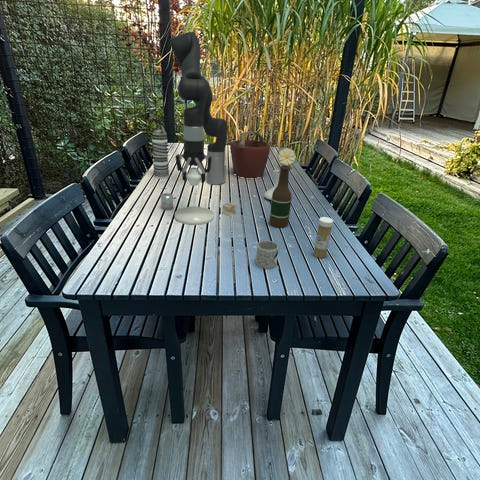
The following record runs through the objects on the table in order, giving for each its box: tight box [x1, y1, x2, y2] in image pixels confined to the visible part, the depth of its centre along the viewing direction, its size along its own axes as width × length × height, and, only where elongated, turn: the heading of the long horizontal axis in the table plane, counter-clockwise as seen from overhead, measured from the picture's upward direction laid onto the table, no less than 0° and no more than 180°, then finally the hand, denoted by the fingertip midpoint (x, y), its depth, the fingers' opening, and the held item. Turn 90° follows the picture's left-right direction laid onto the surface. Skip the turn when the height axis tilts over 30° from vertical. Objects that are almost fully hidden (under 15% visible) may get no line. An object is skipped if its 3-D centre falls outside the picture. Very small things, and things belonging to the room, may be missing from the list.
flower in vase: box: [263, 147, 297, 201], centre depth 159 cm, size 13×11×25 cm
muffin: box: [186, 166, 202, 187], centre depth 132 cm, size 6×6×7 cm
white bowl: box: [174, 206, 215, 226], centre depth 139 cm, size 16×16×2 cm
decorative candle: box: [150, 129, 170, 180], centre depth 183 cm, size 9×9×25 cm
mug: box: [255, 239, 280, 270], centre depth 108 cm, size 10×7×7 cm
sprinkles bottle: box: [312, 216, 334, 259], centre depth 112 cm, size 5×5×13 cm
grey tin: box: [160, 192, 174, 211], centre depth 145 cm, size 5×5×6 cm
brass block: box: [221, 202, 237, 217], centre depth 144 cm, size 4×4×4 cm
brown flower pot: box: [229, 130, 271, 178], centre depth 195 cm, size 24×22×25 cm
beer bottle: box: [269, 164, 292, 229], centre depth 132 cm, size 8×8×24 cm
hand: (194, 181), depth 133 cm, fingers closed on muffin, 6 cm apart
